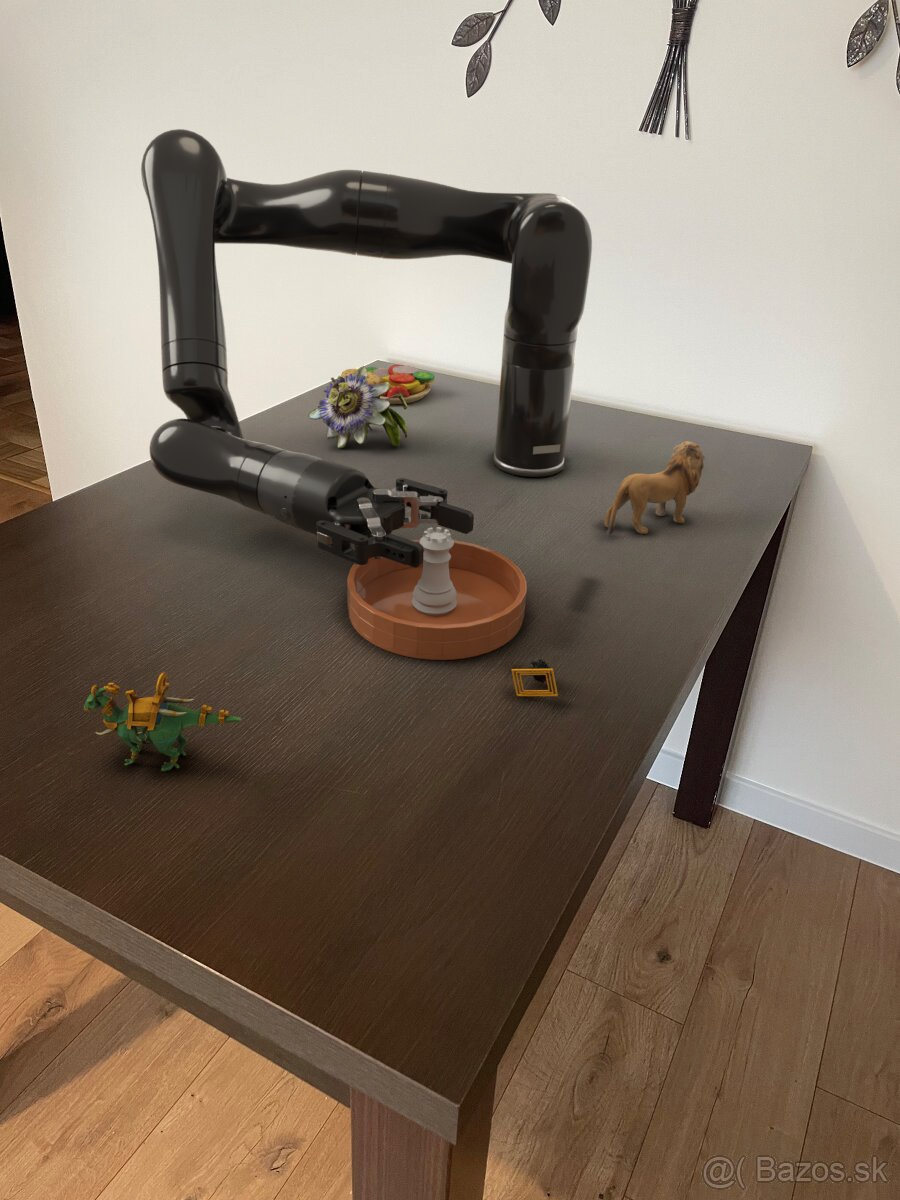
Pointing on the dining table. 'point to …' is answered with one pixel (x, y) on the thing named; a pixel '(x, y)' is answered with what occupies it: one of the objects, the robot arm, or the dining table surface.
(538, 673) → the golden picture frame
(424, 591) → the rook chess piece
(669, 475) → the lion figurine
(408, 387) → the toy food set
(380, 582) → the pan
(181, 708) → the figurine
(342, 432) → the passion flower
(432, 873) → the dining table surface
